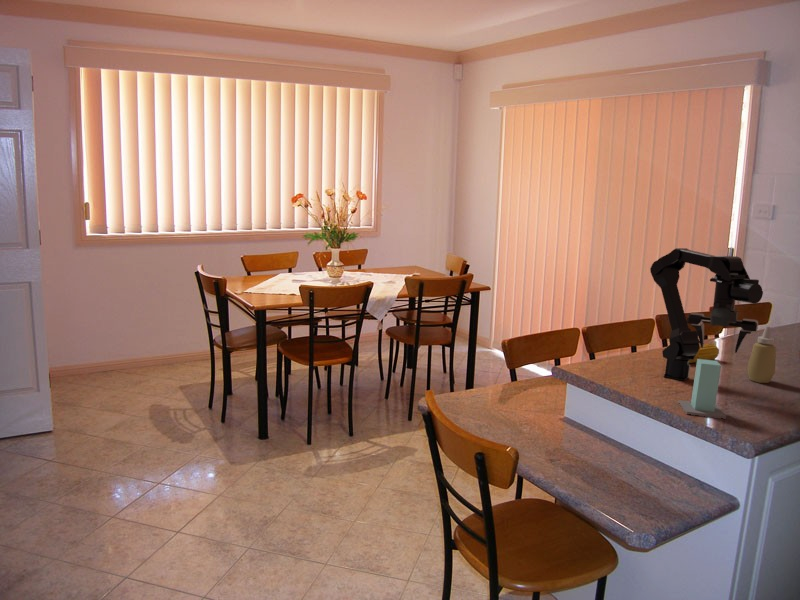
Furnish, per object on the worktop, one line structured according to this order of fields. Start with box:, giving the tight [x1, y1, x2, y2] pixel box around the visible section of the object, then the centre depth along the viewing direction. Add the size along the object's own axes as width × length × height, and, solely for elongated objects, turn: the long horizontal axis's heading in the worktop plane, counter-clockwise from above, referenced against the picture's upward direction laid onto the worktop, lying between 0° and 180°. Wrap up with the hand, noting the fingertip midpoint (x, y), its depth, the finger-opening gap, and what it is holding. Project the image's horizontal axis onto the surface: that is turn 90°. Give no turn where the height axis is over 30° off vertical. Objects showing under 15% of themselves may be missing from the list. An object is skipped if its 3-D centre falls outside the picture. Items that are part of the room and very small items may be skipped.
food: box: [689, 343, 720, 364], centre depth 237 cm, size 21×6×6 cm, turn 121°
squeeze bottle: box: [746, 326, 777, 384], centre depth 216 cm, size 8×8×18 cm
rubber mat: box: [678, 399, 727, 420], centre depth 184 cm, size 10×10×1 cm
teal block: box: [690, 359, 722, 412], centre depth 182 cm, size 5×5×13 cm
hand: (718, 350), depth 200 cm, fingers open, 9 cm apart
